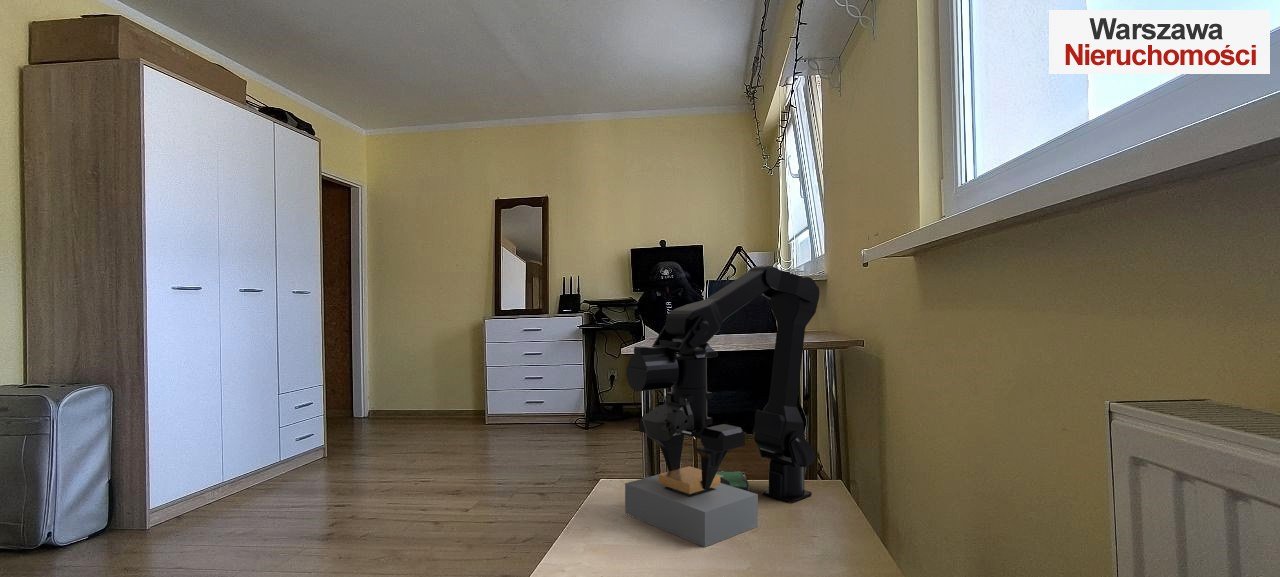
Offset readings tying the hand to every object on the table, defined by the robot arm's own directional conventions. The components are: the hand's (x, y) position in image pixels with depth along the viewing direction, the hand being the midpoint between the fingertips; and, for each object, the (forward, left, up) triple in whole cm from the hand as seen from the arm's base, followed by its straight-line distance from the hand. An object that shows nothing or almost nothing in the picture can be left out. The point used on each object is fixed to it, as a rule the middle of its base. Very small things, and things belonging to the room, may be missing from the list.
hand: (689, 483), depth 97 cm
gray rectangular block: (0, 0, -6) cm, 6 cm away
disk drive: (-14, -9, -7) cm, 18 cm away
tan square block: (0, 0, -5) cm, 5 cm away
